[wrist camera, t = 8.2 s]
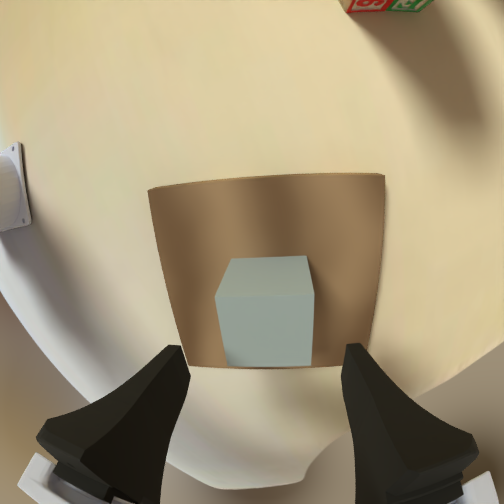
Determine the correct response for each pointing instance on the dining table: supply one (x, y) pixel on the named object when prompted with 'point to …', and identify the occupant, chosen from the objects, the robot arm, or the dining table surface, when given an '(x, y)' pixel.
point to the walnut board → (273, 251)
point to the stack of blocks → (383, 5)
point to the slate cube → (266, 312)
